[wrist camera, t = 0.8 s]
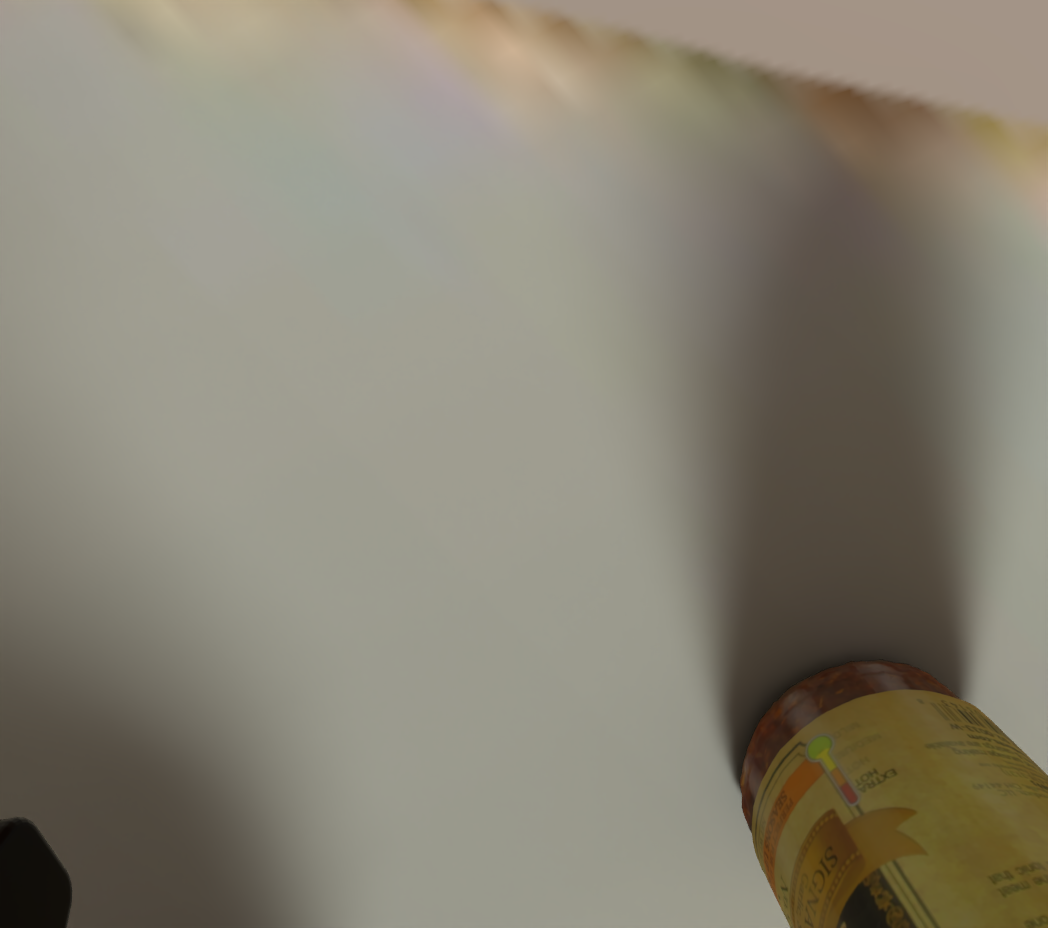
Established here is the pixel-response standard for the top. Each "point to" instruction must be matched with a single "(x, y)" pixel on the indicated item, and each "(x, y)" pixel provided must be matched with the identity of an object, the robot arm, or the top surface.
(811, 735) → the sauce bottle
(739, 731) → the top surface
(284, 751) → the top surface
